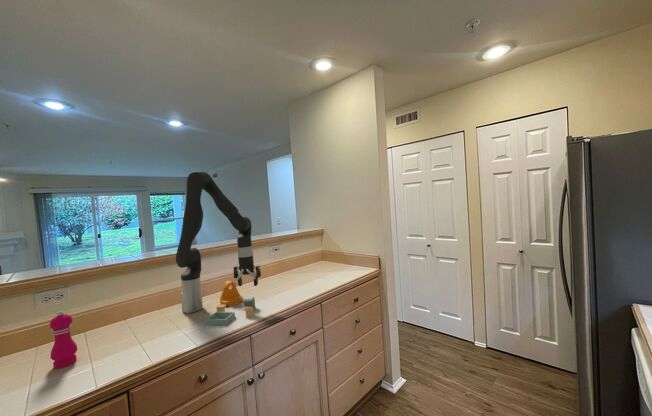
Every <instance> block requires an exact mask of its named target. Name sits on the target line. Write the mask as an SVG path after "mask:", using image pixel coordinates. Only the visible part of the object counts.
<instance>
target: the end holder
mask: <svg viewBox="0 0 652 416" xmlns="http://www.w3.org/2000/svg"><path fill="white" fill-rule="evenodd" d="M235 318H236V313H235V311H225V312H217V311H215V312H213V313H212V314H211V315H210V316H208V317H206V318H205V324H206V325H210V326H211V325H212V326H227V325H228V324H229V323H230V322H231V321H233V320H234V319H235Z"/></svg>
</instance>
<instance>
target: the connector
mask: <svg viewBox="0 0 652 416" xmlns="http://www.w3.org/2000/svg"><path fill="white" fill-rule="evenodd" d="M255 300H256V299H255V296H254V295H253V296H251V295H249V296H245V298H243V306H244V307H243V309H244V308H245V307H253V310H254V309H255V308H256V303H255Z"/></svg>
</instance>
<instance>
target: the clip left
mask: <svg viewBox="0 0 652 416" xmlns="http://www.w3.org/2000/svg"><path fill="white" fill-rule="evenodd" d="M226 308H227V305H222V304H219V305H218V306H216V312H226Z"/></svg>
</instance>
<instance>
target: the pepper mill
mask: <svg viewBox="0 0 652 416" xmlns="http://www.w3.org/2000/svg"><path fill="white" fill-rule="evenodd" d="M72 322H73V317H72V316H71V315H70V314H68V313H67V314H65V312H64V311H63V310H59V311H58V312H57V313H56V316H55V317H53V318H52V319H51V320H50V322H49V328H50V329H51V330H52V335H53V336H54V343H53V345H52V348H51V350H50V359H51V360H52V361H53V363H52V364H53V369H63V368H66V367H68V366H71V365H73V364H74V363H75V362H77V359H78V358H77V355H76V353H77V352H78V345H77V344H76V342H75V340H74V339H73V338H72V335H71V330H72V325H71V324H72Z"/></svg>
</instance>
